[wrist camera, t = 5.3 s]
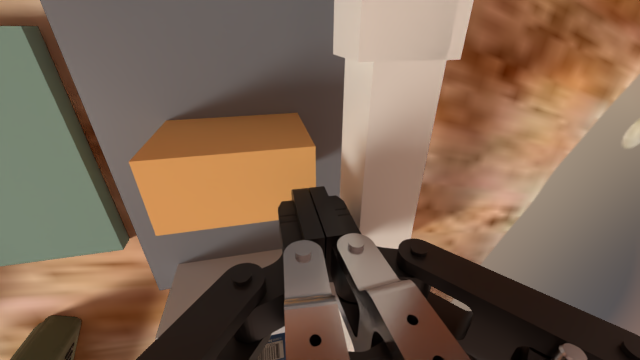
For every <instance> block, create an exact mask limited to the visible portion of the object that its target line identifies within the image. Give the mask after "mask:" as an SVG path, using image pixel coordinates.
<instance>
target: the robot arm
mask: <svg viewBox="0 0 640 360" xmlns="http://www.w3.org/2000/svg"><path fill="white" fill-rule="evenodd" d="M291 195H292V200H290V201H281V203H280V205H279V207H278V218H279V230H280V240H281V247H282V255H281V257H280V258H279V259H278V260H277V261H276V262H274V263H273V264H271V265H269V266H266V267H264V268H261V267H260V266H259V265H257V264H254V263H241V264H238V265H235V266H233V267H231V268H230V269H228V270H227V271H226V272H225V273H224V274H223V275H222V276H221V277H220V278H219V279H218V280H217V281H216V282H215V283H214V284H213V285H212V286H211V287H209V288H208V289H207V290H206V291H205V292H204V293H203V294H202V295H201V296H200V297H199V298H198V299H197V300H196V301H195V302H194V303H193V304H192V305H191V306H190V307H189V308H188V309H187V310H186V311H185V312H184V313H183V314H182V315H181V316H180V317H179V318H178V319H177V320H176V321H175V322H174V323H173V324H172V325H171V326H170V327H169V328H168V329H167V330H166V331H165V332H164V333H163V334H162V335H161V336H160V337H159V338H158V339H156V340H155V341H154V342H153V343H152V344H151V345H150V346H149V347H148V348H147V349H146V350H145V351H144V352H143V353H142V354H141V355H140V356H139V357H138V358H137V359H136V360H257V358H258V356H259V355H260V353H261V352H262V350H263V349H264V347H265V346H266V344H267V343H268V341H269V339H270V337H271V334H272V333H273V332H275V331H277V330H279V329H281V328H282V327H284V326H285V349H286V360H640V336H638V335H636V334H634V333H632V332H629V331H627V330H625V329H622V328H620V327H618V326H616V325H613V324H611V323H609V322H607V321H605V320H602V319H600V318H598V317H595V316H593V315H591V314H589V313H586V312H584V311H582V310H580V309H577V308H575V307H573V306H571V305H568V304H566V303H564V302H561V301H559V300H557V299H555V298H552V297H550V296H548V295H546V294H543V293H541V292H539V291H536V290H534V289H532V288H530V287H528V286H525V285H523V284H521V283H519V282H516V281H514V280H512V279H509V278H507V277H505V276H503V275H500V274H498V273H496V272H494V271H491V270H489V269H487V268H485V267H482V266H480V265H478V264H476V263H473V262H471V261H469V260H467V259H464V258H462V257H460V256H457V255H455V254H453V253H451V252H448V251H446V250H444V249H442V248H439V247H437V246H435V245H433V244H430V243H428V242H426V241H423V240H420V239H406V240H404V241H402V242H401V243H400V244H399V247H398V249H393V248H383V247H378V246H376V245H375V244H374V242H373V241H372V240H371V239H370V238H369V237H367V236H365V235H362V234H361V232H360V230H359V229H358V227H357V225H356V223H355V221H354V219H353V217H352V215H351V214H350V212H349V210H348V209H347V206H346V204H345V202H344V201H343V200H342V199H341V198H339V197H338V196H336V195H335V196H328V193H327V191H326V189H325V187H324V186H320V187H310V188H301V189H292V190H291ZM330 282H333V284H334V287H335V295H332V293H331V288H330V284H329V283H330ZM431 286H432V287H434V288H436V289H438V290H440V291H441V292H443V293H445V294H447V295H449V296H451V297H453V298H455V299H457V300H459V301H460V302H462V303H464V304H466V305H467V306H468V307H470V309H471V310H472V311H465V310H463V309H461V308H459V307H458V306H455V305H454V304H452V303H450V302H448V301H446V300H445V299H443V298H441V297H439V296H437V295H435V294H433V293H432V292H430V289H431ZM338 308H339V309H338ZM339 311H340V313H341V316H342V318H343V321H344V323H345V326H346V328H347V331H348V333H349V336H350V338H351V341H352V344H353V347H354V351H355V352H351V351H348V349H347V345H346V340H345V336H344V331H343V327H342V322H341V318H340V313H339Z"/></svg>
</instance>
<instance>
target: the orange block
mask: <svg viewBox="0 0 640 360" xmlns="http://www.w3.org/2000/svg"><path fill="white" fill-rule="evenodd" d="M129 164H130V167H131V170H132V172H133V175H134V178H135V181H136V183H137V186H138V189H139V191H140V194H141V197H142V199H143V202H144V205H145V208H146V210H147V213H148V216H149V218H150V221H151V224H152V226H153V229H154V232H155V235H156V236H160V235H168V234H175V233H183V232H191V231H198V230H206V229H214V228H221V227H229V226H237V225H244V224H252V223H260V222H268V221H275V220H279V218H278V207H279V205H280V203H281V201H290V200H292V195H291V190H292V189H301V188H310V187H316V146H315V144H314V143H313V141H312V139H311V137H310V135H309V133H308V131H307V130H306V128H305V126H304V124H303V122H302V120H301V118H300V117H299V115H298V113H284V114H268V115H251V116H234V117H217V118H201V119H184V120H167V121H165V122H164V123H163V125H162V126H161V127H160V128H159V129H158V130H157V131H156V132H155V133H154V134H153V136H152V137H151V138H150V139H149V140H148V141H147V142H146V143H145V144H144V145H143V147H142V148H141V149H140V150H139V151H138V152H137V153H136V154H135V155H134V156H133V158H132V159H131V160H130V161H129Z"/></svg>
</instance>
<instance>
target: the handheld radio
mask: <svg viewBox="0 0 640 360" xmlns="http://www.w3.org/2000/svg"><path fill="white" fill-rule="evenodd" d="M80 327H81V319H79V318H77V317H67V316H56V315H52V316H49V317H48V318H46V319H45V321H44V322H42V323H40V324H39V325H38V326H37V327H35V328H34V329H33V331H32V332H31V333H30V335H29V336H28V337H27V338H26V340H25V341H24V342H23V344H22V345H21V346H20V347H19V349H18V350H17V351H16V353H15V354H14V355H13V356H12V358H11V359H10V360H73V359H74V355H75V350H76V346H77V341H78V336H79V332H80Z"/></svg>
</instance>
